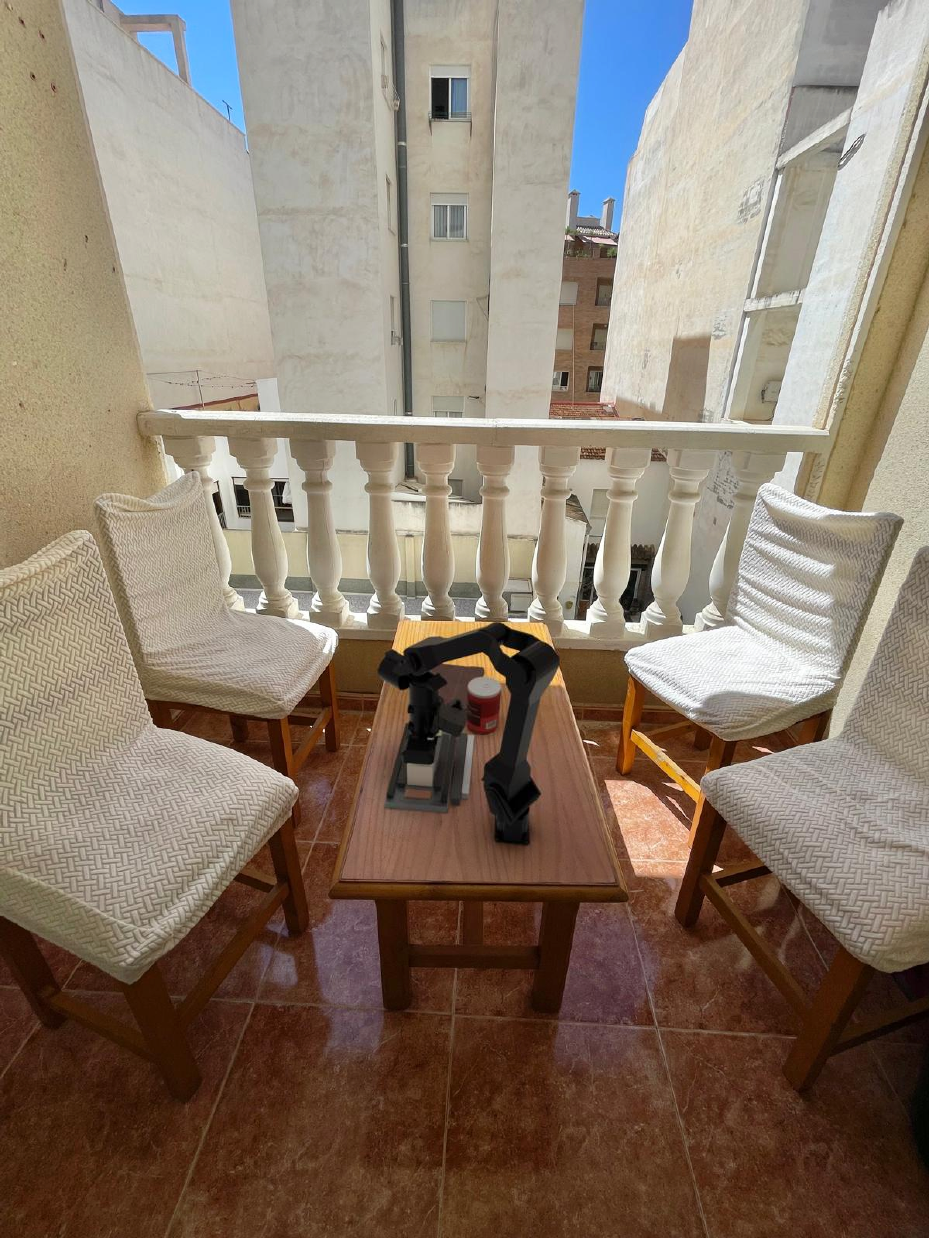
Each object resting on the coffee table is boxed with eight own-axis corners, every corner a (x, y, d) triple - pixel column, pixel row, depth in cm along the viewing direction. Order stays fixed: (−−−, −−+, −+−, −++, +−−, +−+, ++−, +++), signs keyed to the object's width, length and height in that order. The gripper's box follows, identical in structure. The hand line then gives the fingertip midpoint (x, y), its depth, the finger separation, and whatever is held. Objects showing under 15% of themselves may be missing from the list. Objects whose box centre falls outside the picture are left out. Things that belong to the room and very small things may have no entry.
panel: (446, 812, 106) (447, 802, 105) (385, 807, 107) (384, 797, 106) (457, 733, 128) (458, 723, 127) (406, 729, 128) (406, 720, 127)
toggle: (432, 786, 110) (432, 766, 108) (407, 784, 111) (407, 764, 108) (434, 772, 114) (434, 752, 111) (410, 770, 114) (410, 750, 112)
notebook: (413, 708, 136) (413, 702, 136) (431, 667, 154) (431, 660, 153) (473, 716, 134) (474, 709, 134) (484, 673, 152) (484, 667, 151)
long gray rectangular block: (467, 806, 108) (468, 799, 107) (450, 805, 108) (450, 798, 107) (473, 740, 126) (474, 733, 125) (459, 739, 126) (459, 732, 125)
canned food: (501, 717, 134) (504, 679, 129) (494, 738, 127) (497, 698, 122) (471, 711, 135) (472, 673, 130) (462, 731, 128) (463, 692, 123)
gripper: (460, 732, 99) (458, 795, 107) (468, 674, 116) (466, 732, 123) (399, 728, 100) (401, 791, 107) (415, 670, 116) (416, 729, 124)
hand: (424, 759), depth 115 cm, fingers closed
